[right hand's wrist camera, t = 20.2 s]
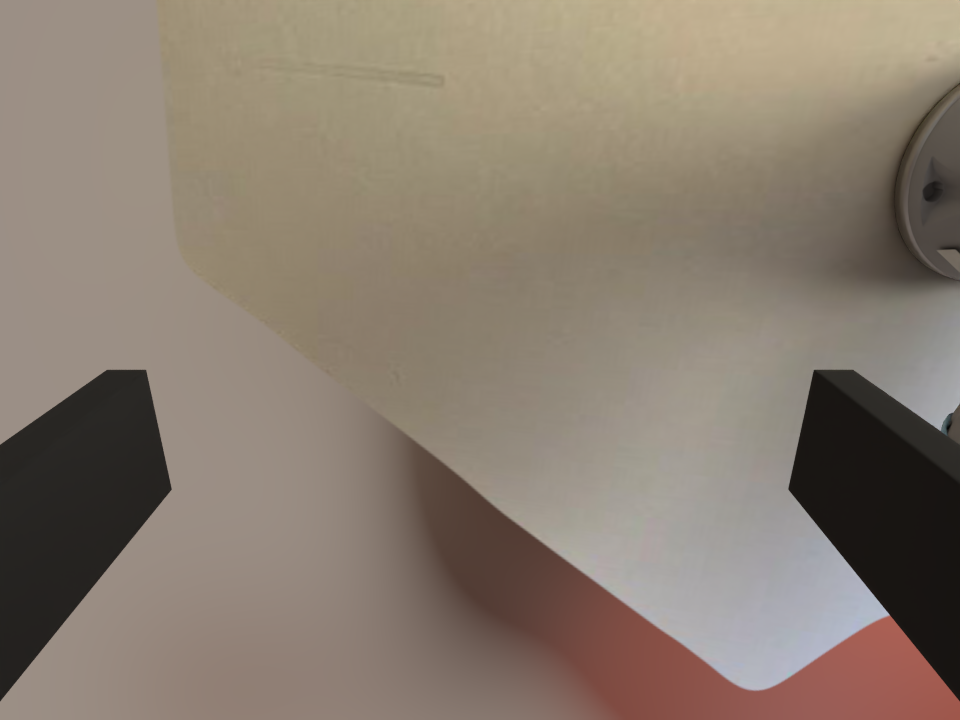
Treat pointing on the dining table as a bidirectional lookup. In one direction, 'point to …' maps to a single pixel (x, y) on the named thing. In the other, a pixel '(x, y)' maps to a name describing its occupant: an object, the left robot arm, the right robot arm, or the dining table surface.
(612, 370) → the dining table surface
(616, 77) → the dining table surface
